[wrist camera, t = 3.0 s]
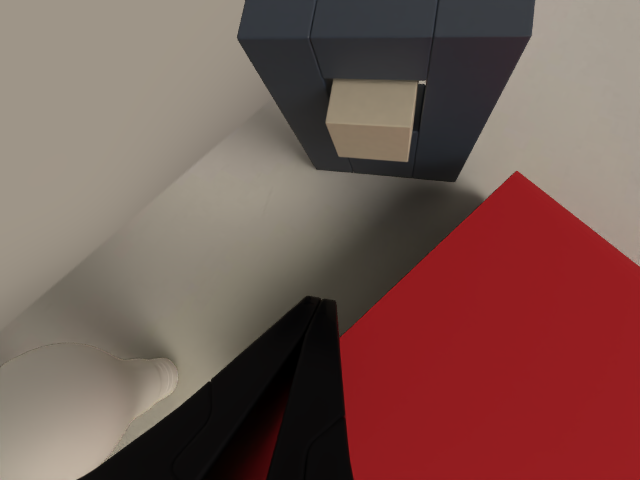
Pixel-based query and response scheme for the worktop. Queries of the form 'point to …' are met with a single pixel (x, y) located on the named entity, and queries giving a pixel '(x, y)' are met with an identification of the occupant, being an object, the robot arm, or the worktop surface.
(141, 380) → the lightbulb
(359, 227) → the worktop surface
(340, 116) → the switch rocker
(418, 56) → the switch plate
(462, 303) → the red device housing
